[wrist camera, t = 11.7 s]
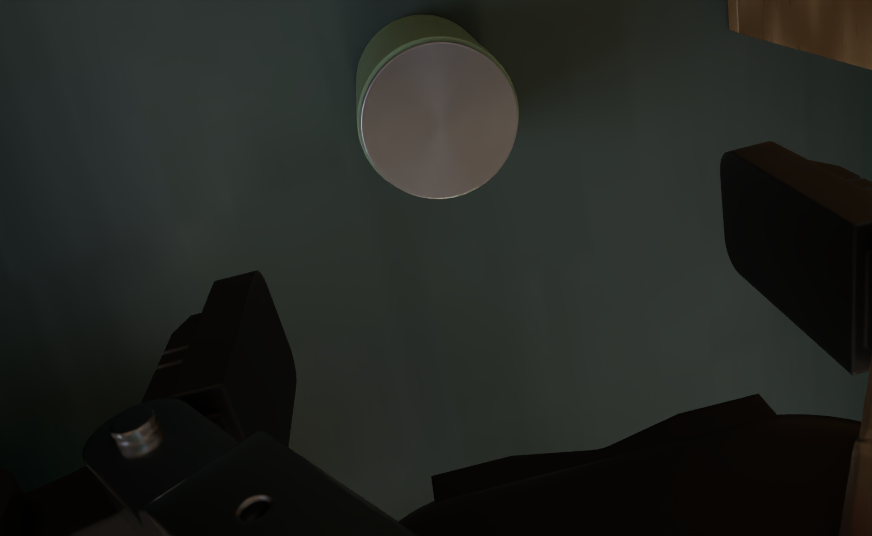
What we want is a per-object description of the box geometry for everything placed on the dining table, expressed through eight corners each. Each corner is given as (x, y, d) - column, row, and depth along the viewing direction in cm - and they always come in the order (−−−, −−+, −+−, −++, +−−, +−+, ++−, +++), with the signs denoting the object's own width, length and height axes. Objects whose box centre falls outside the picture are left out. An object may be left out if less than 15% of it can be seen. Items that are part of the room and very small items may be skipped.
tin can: (332, 52, 26) (326, 86, 21) (454, -10, 26) (482, 7, 20) (392, 168, 28) (402, 228, 23) (507, 112, 28) (546, 159, 22)
